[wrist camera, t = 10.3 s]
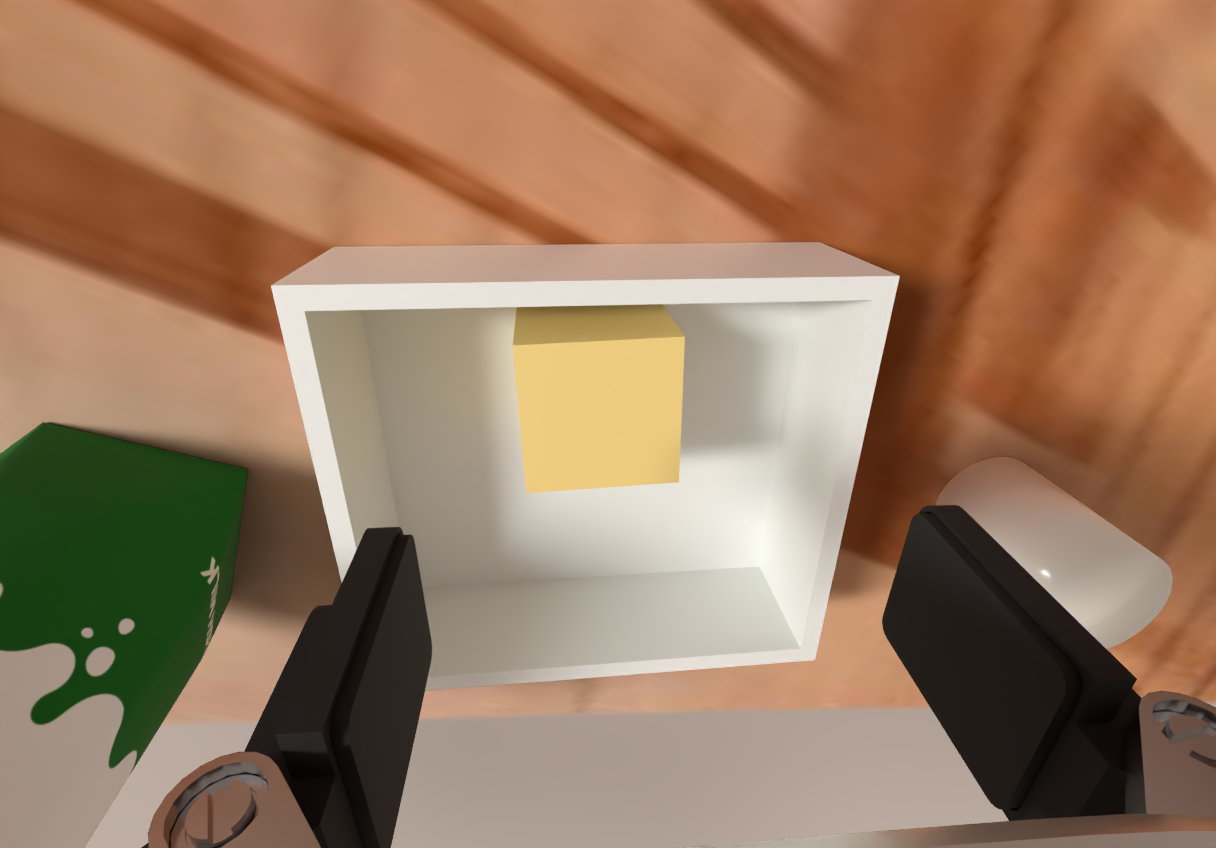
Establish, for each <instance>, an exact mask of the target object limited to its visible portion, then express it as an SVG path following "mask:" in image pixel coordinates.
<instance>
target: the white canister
mask: <svg viewBox="0 0 1216 848" xmlns="http://www.w3.org/2000/svg"><path fill="white" fill-rule="evenodd" d="M937 505H958V506H960V507H961V508H963V509H964V510H965V511H966V512H967V513H968V514H969V515H970V516H971V517H972V518H973V519H974V520H975V521H976V522H977V523H978V524H979V525H980V526H981V527H982V528H983V529H984V530H985V531H986V532H987V533H989V534H990V535H991V536H992V537H993V538H994V539H995V540H996V541H997V542H998V543H999V544H1000V545H1001V546H1002V547H1003V548H1004V549H1005V550H1006V551H1007V552H1008V553H1009V554H1010V555H1011V556H1012V557H1013V558H1014V559H1015V560H1016V561H1017V562H1018V563H1019V564H1020V565H1021V566H1022V567H1023V568H1024V569H1025V570H1026V571H1027V572H1028V573H1029V574H1030V575H1031V576H1032V577H1033V578H1034V579H1035V580H1036V581H1037V582H1038V583H1039V584H1040V585H1042V586H1043V587H1044V588H1045V589H1046V590H1047V591H1048V592H1049V593H1050V594H1051V595H1052V596H1053V597H1054V598H1055V599H1056V600H1057V601H1058V602H1059V603H1060V604H1061V605H1062V606H1063V607H1064V608H1065V609H1066V610H1067V611H1068V612H1069V613H1070V614H1071V615H1072V616H1073V617H1074V618H1075V619H1076V620H1077V621H1078V622H1079V623H1080V624H1081V625H1082V626H1083V627H1084V628H1085V629H1086V630H1087V631H1088V632H1089V633H1090V634H1091V635H1092V636H1093V637H1095V638H1096V639H1097V640H1098V641H1099V642H1100V643H1101V644H1102V645H1103V646H1104V647H1105V648H1106V649H1109V648H1111V647H1114V646H1116V645H1118V644H1120V643H1122V642H1124V641H1126V640H1127V639H1129V638H1131V637H1132V636H1134V635H1135V634H1137V633H1138V632H1140V631H1141V630H1142V629H1143V628H1145V627H1146V626H1147V625H1148V624H1149V623H1150V622H1151V621H1152V620H1153V619H1154V618H1155V617H1156V616H1157V615H1158V614H1159V612H1160V611H1161V610H1162V608H1163V607H1164V605H1165V604H1166V602H1167V600H1168V598H1169V596H1170V593H1171V590H1172V584H1173V576H1172V572H1171V570H1170V568H1169V566H1168V565H1167V563H1166V562H1165V561H1163V560H1162V559H1161V558H1159V557H1158V556H1156V555H1155V554H1154V553H1152V552H1151V551H1149V550H1148V549H1146V548H1145V547H1144V546H1142V545H1141V544H1139V543H1138V542H1136V541H1135V540H1134V539H1132V538H1131V537H1129V536H1128V535H1126V534H1125V533H1124V532H1122V531H1121V530H1119V529H1118V528H1116V527H1115V526H1114V525H1112V524H1111V523H1109V522H1108V521H1106V520H1105V519H1104V518H1102V517H1101V516H1099V515H1098V514H1096V513H1095V512H1094V511H1092V510H1091V509H1089V508H1088V507H1086V506H1085V505H1084V504H1082V503H1081V502H1079V501H1078V500H1076V499H1075V498H1074V497H1072V496H1071V495H1069V494H1068V493H1066V492H1065V491H1064V490H1062V489H1061V488H1059V487H1058V486H1056V485H1055V484H1054V483H1052V482H1051V481H1049V480H1048V479H1046V478H1045V477H1044V476H1042V475H1041V474H1039V473H1038V472H1036V471H1035V470H1034V469H1032V468H1031V467H1029V466H1028V465H1026V464H1025V463H1024V462H1022V461H1020V460H1018V459H1015V458H1010V457H993V458H988V459H985V460H982V461H979V462H976V463H974V464H972V465H970V466H968V467H967V468H965V469H963V470H962V471H961V472H959V473H958V474H957V475H956V476H954V477H953V478H952V479H951V480H950V481H949V482H948V483H947V485H946V486H945V487H944V488H943V490H942V491H941V493H940V495H939V497H938V499H937V501H936V504H935V506H937Z"/></svg>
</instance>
